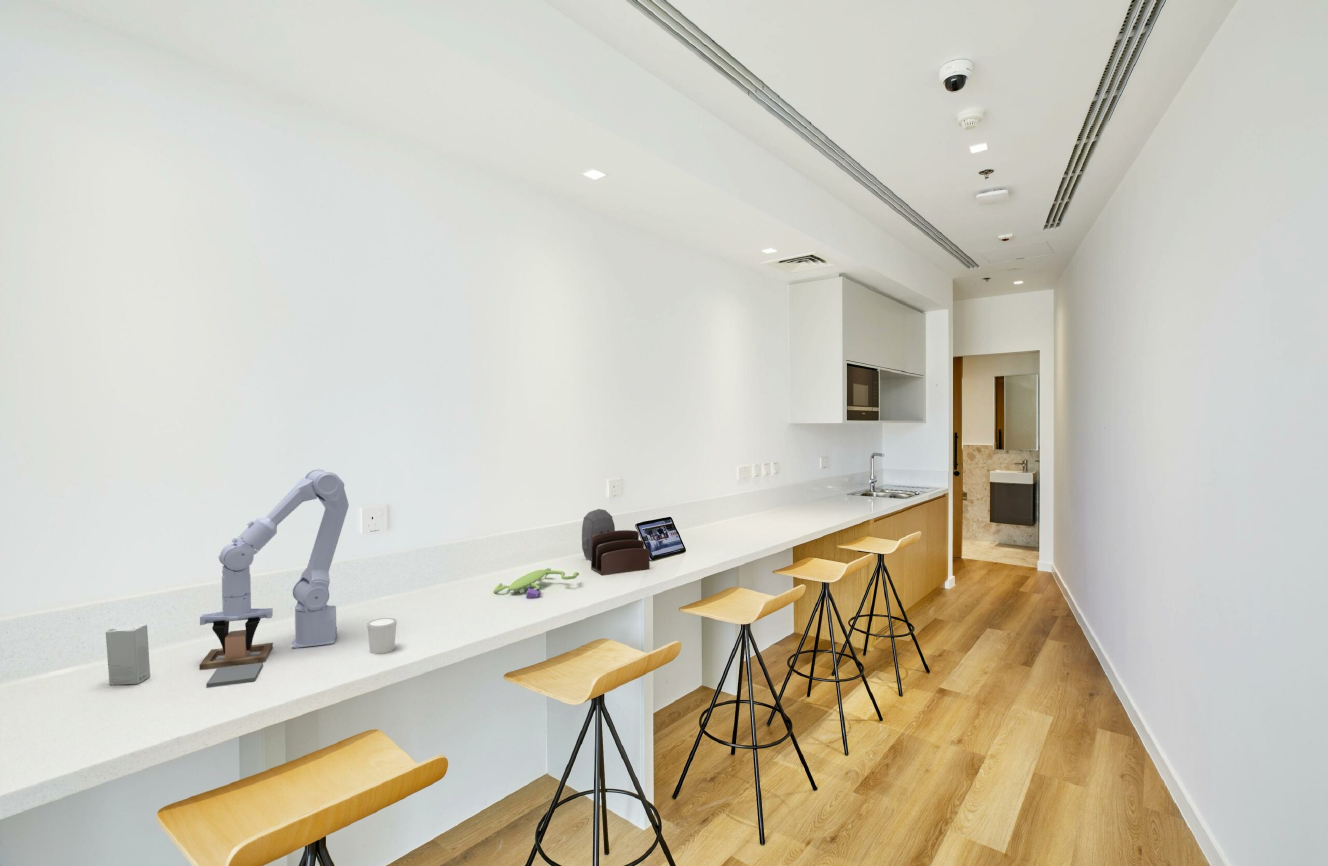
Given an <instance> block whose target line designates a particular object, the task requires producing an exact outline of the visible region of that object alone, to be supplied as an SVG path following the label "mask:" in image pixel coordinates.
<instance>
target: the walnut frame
mask: <svg viewBox="0 0 1328 866" xmlns="http://www.w3.org/2000/svg"><path fill="white" fill-rule="evenodd" d="M273 648H274V643H273V642H268V643H267V642H266V643H258V644H252V647H251V649H250V653H252V652H254V653H255V652H260V653H259V655H253V656H248V657H243V658H234V659H226V660H225V659H218V660H215V659H216V658H217V657H219V656H225V653H224V652H223V648H212V649H210V650H209V652H208V653H207V654H206V655H205V656H204V658H203V660H202V661H201V662H200V664H199V670H200V671H203V670H210V669H211V670H212V669H217V668H222V667H231V666H239V665H244V664H245V665H247V664H252V663H253V664H256V663H266V662H267V659H268V658H269V656H270V654H271V652H272V650H273ZM261 650H262V651H261Z"/></svg>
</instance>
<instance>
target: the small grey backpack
mask: <svg viewBox="0 0 1328 866" xmlns="http://www.w3.org/2000/svg"><path fill="white" fill-rule="evenodd" d="M615 529H616V527H615V522H614V519H613V516H612V514H611V513H610V512H608V511H607V510H606V509H601V508H598V509H595V510H592V511H588V512H587V514H586V515H585V516H584V517H583V520H582V526H581V549H582V552H583V555H584V558H585V559H591V538H592V536H593V535H596V534H600V533H605V532H610V531H616V530H615Z"/></svg>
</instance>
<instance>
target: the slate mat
mask: <svg viewBox="0 0 1328 866" xmlns="http://www.w3.org/2000/svg"><path fill="white" fill-rule="evenodd" d="M263 667H264V662H261V663H253V664H245V665H236V666H228V667H220V668H215V669H216V670H215V671H214V672H213V673H212V674H211V677H209V679H208V681H207V682H206V686H205V687H206V688H212V687H221V686H228V685H229V686H230V685H236V684H243V683H252V682H255V681H256V680H257V678H258V676H259V675H258V674H260V672H261V671H262V669H263Z"/></svg>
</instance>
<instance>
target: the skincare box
mask: <svg viewBox="0 0 1328 866" xmlns="http://www.w3.org/2000/svg"><path fill="white" fill-rule="evenodd" d="M148 636H149V635H148V624H128V625H127V624H126V625H125V624H122V625H117V626H116V625H115V626H114V627H112V628H110V629H109V630H106V631H105V642H106V644H105V645H106V653H107V654H106V655H107V656H106V657H107V669H108V672H107V673H108V682H109V684H108V685H110V686H115V685H116V686H117V685H118V686H119V685H138V684H141V683H143V682H144V681H146V680H147V679H149V678H151V668H150V667H151V666H150V651H149V650H150V649H149V637H148Z"/></svg>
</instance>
